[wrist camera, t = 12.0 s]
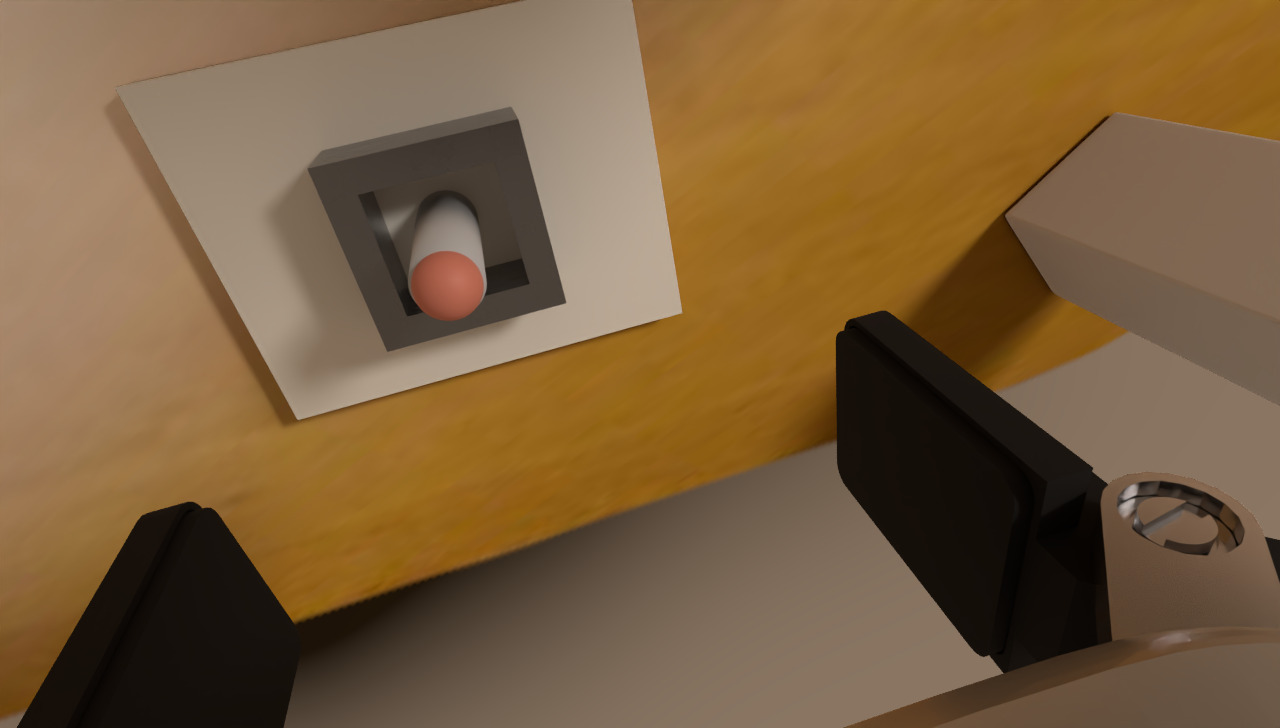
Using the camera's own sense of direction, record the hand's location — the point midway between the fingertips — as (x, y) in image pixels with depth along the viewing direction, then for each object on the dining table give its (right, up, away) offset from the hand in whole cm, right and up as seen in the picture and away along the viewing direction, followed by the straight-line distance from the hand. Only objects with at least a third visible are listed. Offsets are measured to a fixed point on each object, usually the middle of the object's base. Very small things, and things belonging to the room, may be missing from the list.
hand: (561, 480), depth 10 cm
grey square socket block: (-7, +8, +17) cm, 20 cm away
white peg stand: (-7, +8, +18) cm, 21 cm away
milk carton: (+25, +10, +26) cm, 38 cm away
